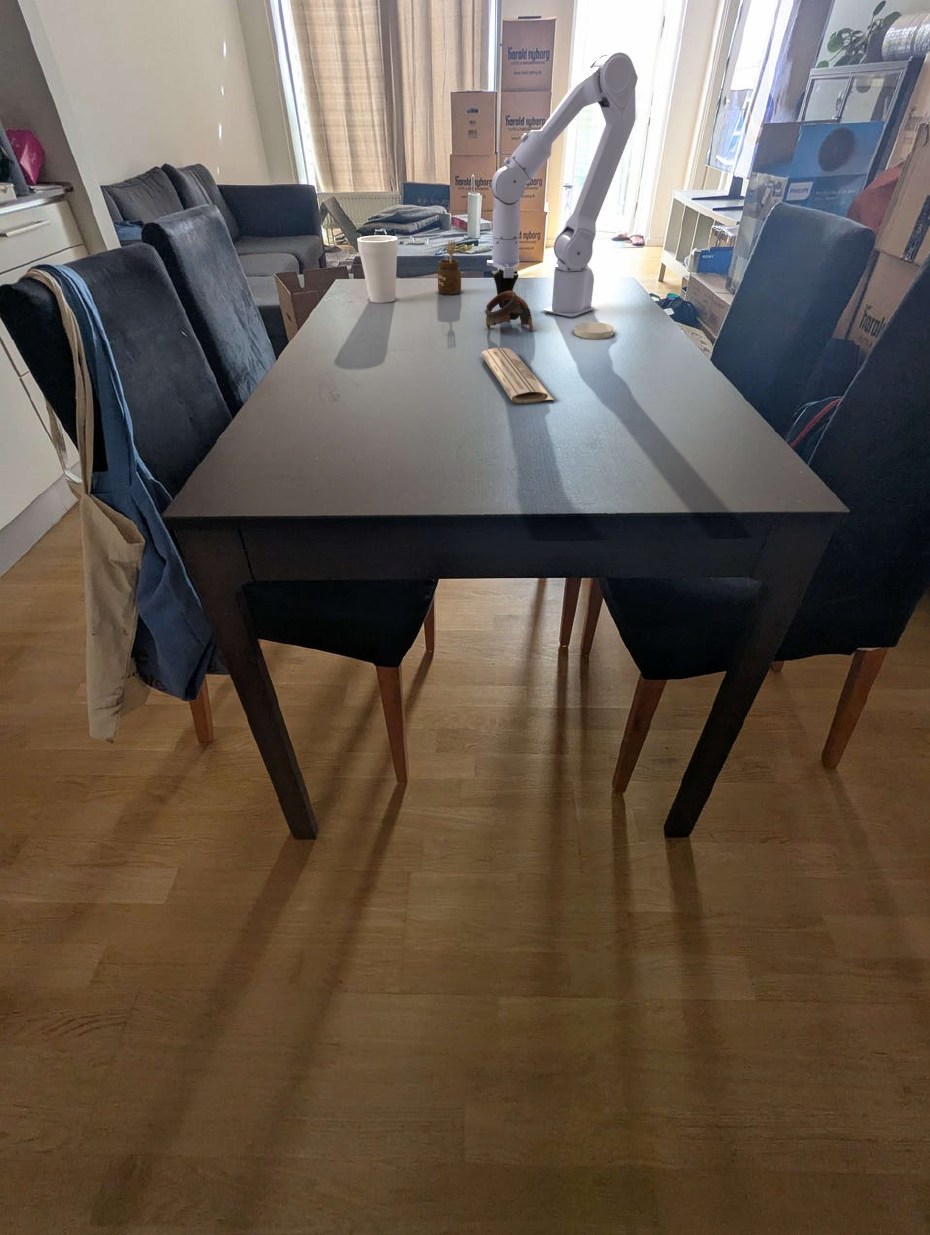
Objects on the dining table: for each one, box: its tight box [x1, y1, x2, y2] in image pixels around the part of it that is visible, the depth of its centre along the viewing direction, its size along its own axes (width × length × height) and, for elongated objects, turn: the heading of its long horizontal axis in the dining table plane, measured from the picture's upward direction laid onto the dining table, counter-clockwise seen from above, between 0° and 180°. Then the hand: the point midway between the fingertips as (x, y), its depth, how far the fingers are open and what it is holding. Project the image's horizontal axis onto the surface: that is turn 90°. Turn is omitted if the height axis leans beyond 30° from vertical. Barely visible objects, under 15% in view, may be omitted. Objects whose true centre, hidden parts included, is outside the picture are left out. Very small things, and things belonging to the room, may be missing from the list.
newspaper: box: [481, 347, 555, 404], centre depth 107 cm, size 24×7×2 cm, turn 11°
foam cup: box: [357, 234, 399, 304], centre depth 148 cm, size 10×9×13 cm
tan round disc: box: [573, 321, 615, 340], centre depth 127 cm, size 8×8×1 cm
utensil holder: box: [437, 239, 462, 296], centre depth 153 cm, size 6×6×12 cm
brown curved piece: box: [484, 290, 534, 332], centre depth 130 cm, size 12×10×8 cm
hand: (503, 307), depth 139 cm, fingers closed
